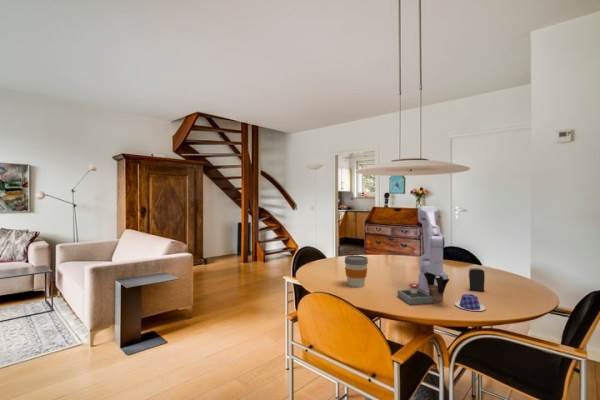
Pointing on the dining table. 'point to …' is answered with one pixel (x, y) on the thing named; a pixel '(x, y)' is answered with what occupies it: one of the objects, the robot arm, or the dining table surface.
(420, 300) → the tray
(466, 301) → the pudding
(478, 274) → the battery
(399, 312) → the dining table surface
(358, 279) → the reusable coffee cup
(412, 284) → the small red-capped bottle
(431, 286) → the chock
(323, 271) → the dining table surface
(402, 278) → the dining table surface
